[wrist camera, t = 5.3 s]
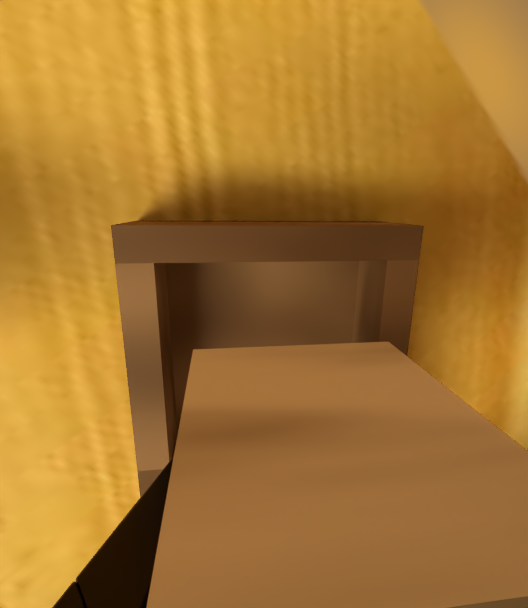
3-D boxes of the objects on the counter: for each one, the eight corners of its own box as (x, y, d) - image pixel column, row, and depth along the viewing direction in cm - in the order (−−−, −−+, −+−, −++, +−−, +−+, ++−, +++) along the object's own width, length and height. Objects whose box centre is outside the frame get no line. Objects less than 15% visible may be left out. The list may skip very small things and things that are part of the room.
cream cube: (371, 498, 10) (559, 857, 5) (201, 515, 10) (176, 953, 4) (387, 341, 9) (683, 573, 3) (193, 349, 8) (137, 650, 3)
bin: (359, 425, 18) (391, 474, 15) (155, 439, 17) (140, 496, 14) (379, 221, 15) (423, 225, 12) (136, 220, 14) (111, 225, 11)
